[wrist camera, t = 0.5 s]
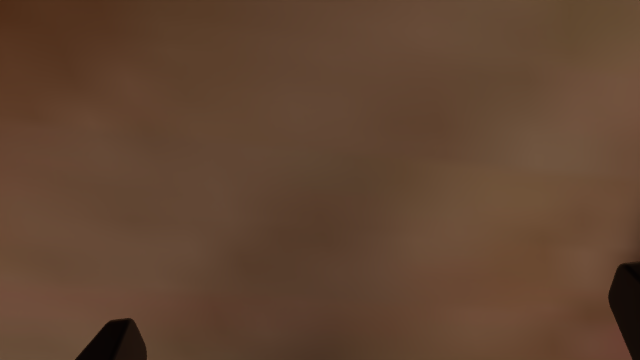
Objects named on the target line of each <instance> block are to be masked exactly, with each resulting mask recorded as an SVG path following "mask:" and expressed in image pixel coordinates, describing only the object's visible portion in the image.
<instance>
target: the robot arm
mask: <svg viewBox="0 0 640 360" xmlns="http://www.w3.org/2000/svg"><path fill="white" fill-rule="evenodd" d="M608 299H609V304H610V307H611V310H612V312H613V314H614V317H615V319H616V322H617V324H618V326H619V329H620V331H621V333H622V336H623V338H624V341H625V343H626V345H627V348H628V350H629V353H630V355H631V357H632V360H640V262H630V263H623V264H621V265H619V266H618V268H617V270H616V273H615V276H614V279H613V282H612V285H611V287H610V290H609V295H608ZM75 360H147V351H146V346H145V343H144V341H143V339H142V336H141V334H140V332H139V330H138V328H137V326H136V323H135V322H134V320H132V319H131V318H125V319H116V320H111V321H109V322H108V323H106V324H105V326H104V327H103V328H102V329H101V330H100V331H99V333H98V334H97V335H96V336H95V337H94V338H93V339H92V341H91V342H90V343H89V344H88V345H87V346H86V348H85V349H84V350H83V351H82V352H81V353H80V354H79V356H78V357H77V358H76V359H75Z"/></svg>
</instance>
